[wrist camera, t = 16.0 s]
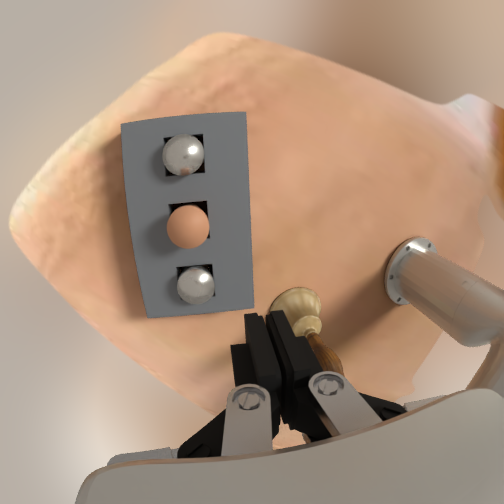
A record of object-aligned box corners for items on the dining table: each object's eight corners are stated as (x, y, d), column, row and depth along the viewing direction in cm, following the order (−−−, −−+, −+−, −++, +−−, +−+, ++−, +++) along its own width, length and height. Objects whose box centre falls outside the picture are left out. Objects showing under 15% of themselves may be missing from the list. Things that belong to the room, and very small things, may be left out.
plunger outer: (203, 136, 32) (203, 132, 27) (204, 171, 33) (205, 173, 29) (166, 139, 31) (161, 136, 26) (169, 175, 33) (163, 177, 28)
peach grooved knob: (206, 198, 33) (207, 204, 28) (209, 234, 34) (210, 246, 30) (169, 201, 32) (164, 209, 27) (173, 237, 34) (169, 250, 29)
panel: (241, 116, 32) (246, 111, 28) (249, 294, 40) (254, 308, 36) (129, 127, 30) (120, 123, 26) (151, 303, 38) (147, 318, 34)
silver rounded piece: (211, 254, 37) (212, 268, 32) (214, 284, 38) (216, 302, 33) (177, 257, 36) (174, 272, 31) (182, 287, 37) (180, 305, 33)
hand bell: (312, 278, 41) (366, 339, 26) (325, 319, 44) (373, 384, 29) (261, 301, 41) (293, 375, 26) (279, 341, 44) (311, 415, 29)
